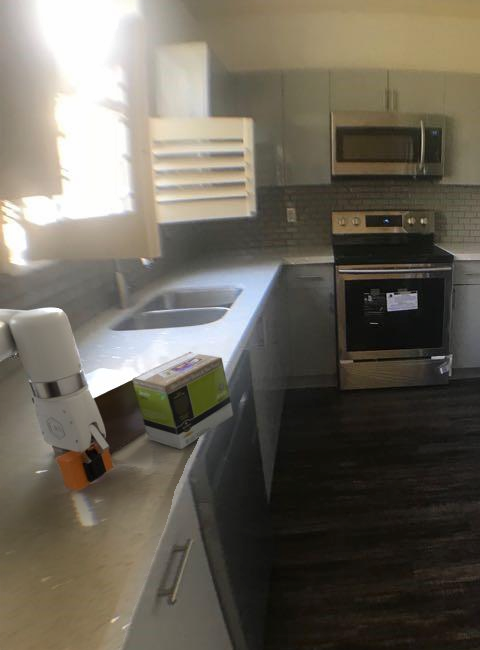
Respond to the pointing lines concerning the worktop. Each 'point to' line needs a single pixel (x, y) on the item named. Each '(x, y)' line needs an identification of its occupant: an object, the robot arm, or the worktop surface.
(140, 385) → the tea box
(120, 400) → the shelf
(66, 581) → the worktop surface
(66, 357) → the robot arm
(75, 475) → the block
